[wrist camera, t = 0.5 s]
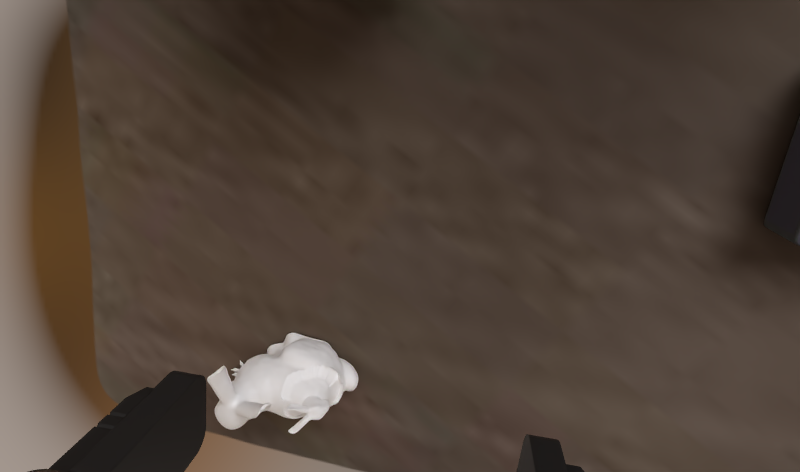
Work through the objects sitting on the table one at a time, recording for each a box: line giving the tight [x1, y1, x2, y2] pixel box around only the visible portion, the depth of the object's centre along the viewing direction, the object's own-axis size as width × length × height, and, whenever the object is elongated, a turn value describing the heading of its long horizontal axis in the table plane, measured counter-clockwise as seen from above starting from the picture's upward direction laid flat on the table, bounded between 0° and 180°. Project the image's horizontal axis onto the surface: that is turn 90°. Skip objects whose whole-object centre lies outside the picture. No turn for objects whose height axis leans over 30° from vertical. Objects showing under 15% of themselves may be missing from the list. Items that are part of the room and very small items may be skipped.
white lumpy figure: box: [207, 333, 358, 434], centre depth 39 cm, size 12×8×10 cm, turn 88°
